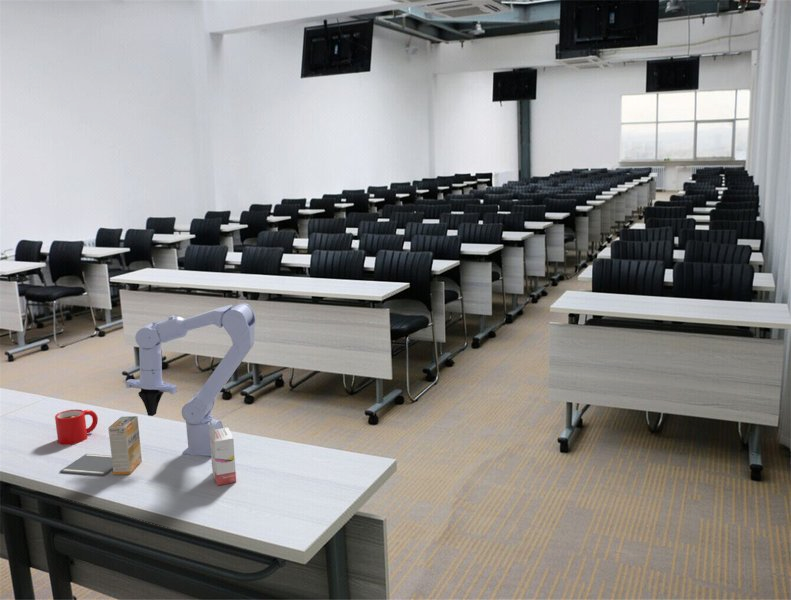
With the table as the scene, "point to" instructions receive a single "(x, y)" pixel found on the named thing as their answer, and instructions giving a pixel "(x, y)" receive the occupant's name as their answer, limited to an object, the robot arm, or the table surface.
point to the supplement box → (125, 445)
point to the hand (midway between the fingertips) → (152, 414)
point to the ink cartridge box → (222, 455)
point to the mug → (74, 426)
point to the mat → (90, 465)
